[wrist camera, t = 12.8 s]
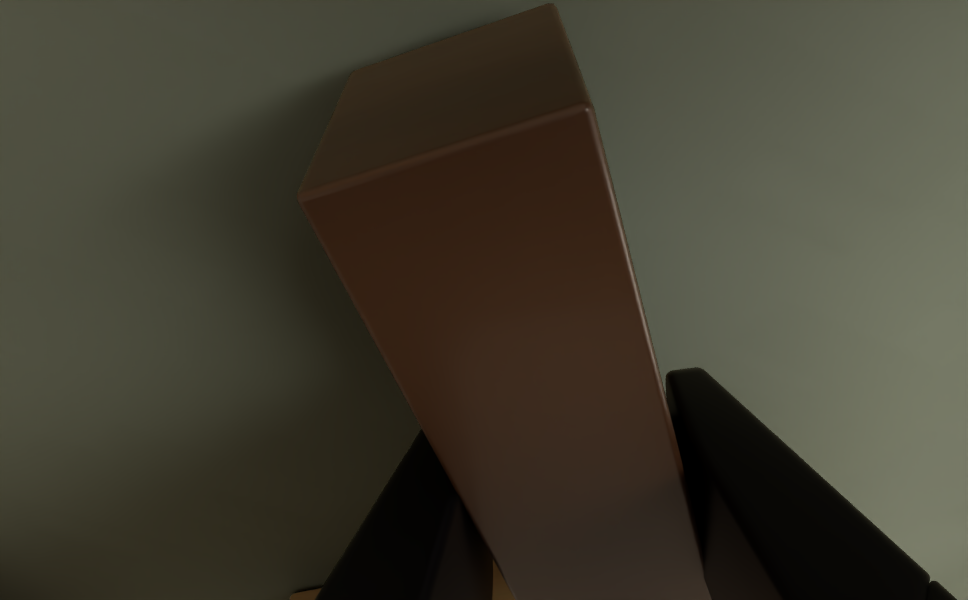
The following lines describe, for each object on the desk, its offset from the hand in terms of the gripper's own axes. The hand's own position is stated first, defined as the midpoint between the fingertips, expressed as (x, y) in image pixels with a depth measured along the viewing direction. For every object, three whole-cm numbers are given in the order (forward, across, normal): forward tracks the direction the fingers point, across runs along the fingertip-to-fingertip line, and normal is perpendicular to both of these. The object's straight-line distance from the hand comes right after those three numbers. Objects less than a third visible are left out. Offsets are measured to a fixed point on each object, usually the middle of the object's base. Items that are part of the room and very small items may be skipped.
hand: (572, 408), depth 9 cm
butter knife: (+1, -1, +6) cm, 6 cm away
